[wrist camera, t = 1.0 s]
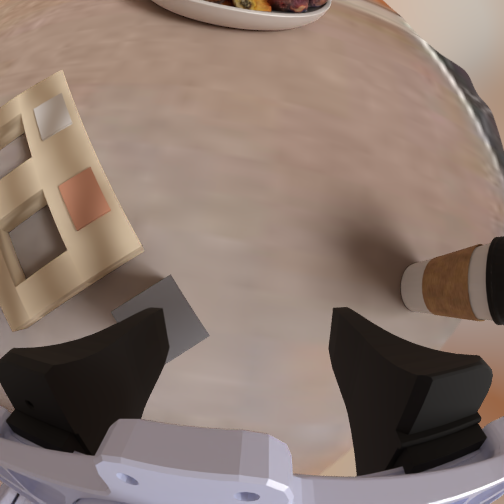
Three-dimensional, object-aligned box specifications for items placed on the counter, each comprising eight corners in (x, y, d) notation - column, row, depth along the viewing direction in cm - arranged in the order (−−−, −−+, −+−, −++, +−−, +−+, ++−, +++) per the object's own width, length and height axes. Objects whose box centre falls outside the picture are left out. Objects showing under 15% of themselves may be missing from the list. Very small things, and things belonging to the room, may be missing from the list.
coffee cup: (382, 288, 29) (503, 279, 15) (413, 239, 32) (516, 214, 18) (414, 335, 30) (520, 343, 16) (441, 286, 33) (536, 277, 19)
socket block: (27, 327, 19) (10, 332, 15) (-28, 151, 18) (-42, 138, 14) (144, 251, 23) (141, 245, 20) (68, 87, 22) (61, 67, 19)
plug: (154, 346, 22) (151, 372, 14) (127, 305, 22) (110, 311, 14) (194, 321, 23) (209, 335, 16) (168, 279, 23) (170, 274, 15)
